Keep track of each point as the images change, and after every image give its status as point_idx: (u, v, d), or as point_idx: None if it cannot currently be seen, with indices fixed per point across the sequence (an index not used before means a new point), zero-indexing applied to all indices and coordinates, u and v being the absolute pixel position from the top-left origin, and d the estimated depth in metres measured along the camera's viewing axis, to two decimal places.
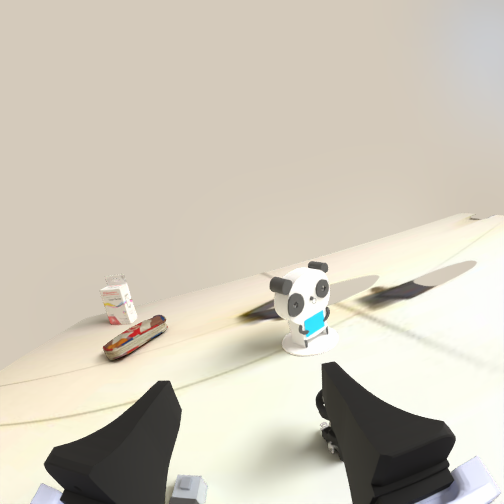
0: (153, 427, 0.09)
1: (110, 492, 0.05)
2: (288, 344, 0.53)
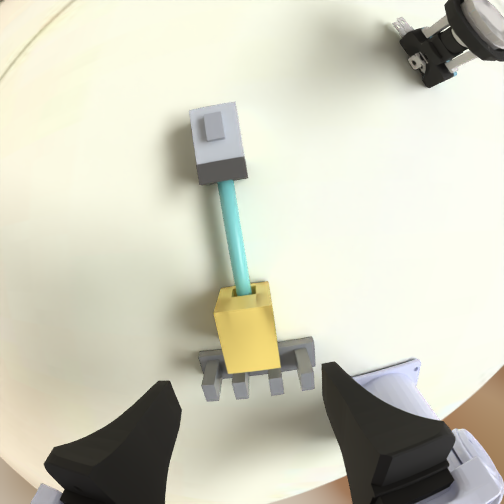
0: (153, 427, 0.09)
1: (110, 492, 0.05)
2: None
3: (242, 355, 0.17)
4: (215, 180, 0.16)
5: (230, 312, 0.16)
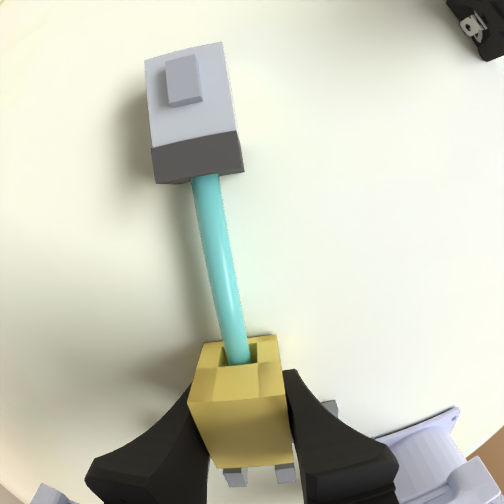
0: (195, 428, 0.09)
1: (164, 502, 0.05)
2: None
3: (236, 451, 0.09)
4: (183, 175, 0.08)
5: (214, 403, 0.09)
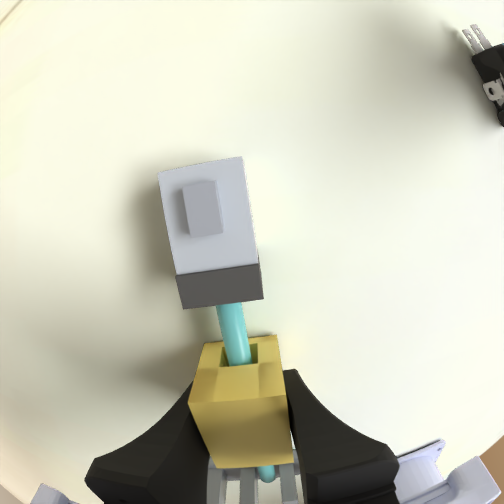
0: (195, 428, 0.09)
1: (164, 502, 0.05)
2: None
3: (237, 452, 0.09)
4: (209, 304, 0.09)
5: (215, 403, 0.09)
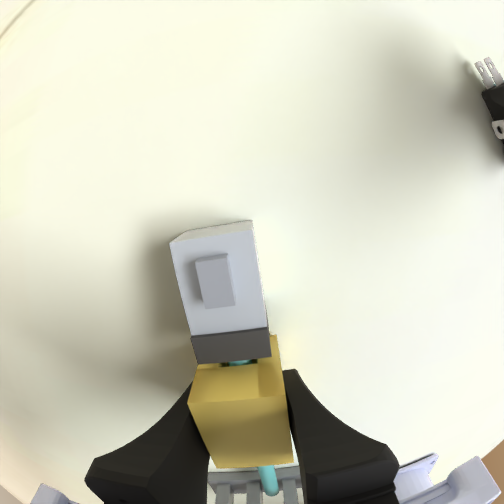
0: (195, 428, 0.09)
1: (164, 502, 0.05)
2: None
3: (236, 452, 0.09)
4: (222, 360, 0.10)
5: (215, 404, 0.09)
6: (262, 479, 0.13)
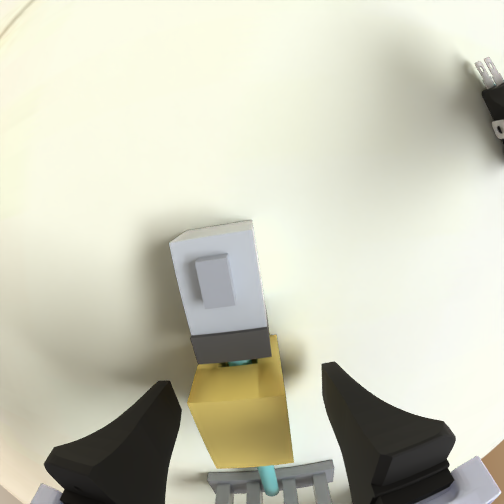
0: (153, 427, 0.09)
1: (110, 492, 0.05)
2: None
3: (236, 452, 0.09)
4: (222, 360, 0.10)
5: (215, 404, 0.09)
6: (262, 479, 0.13)
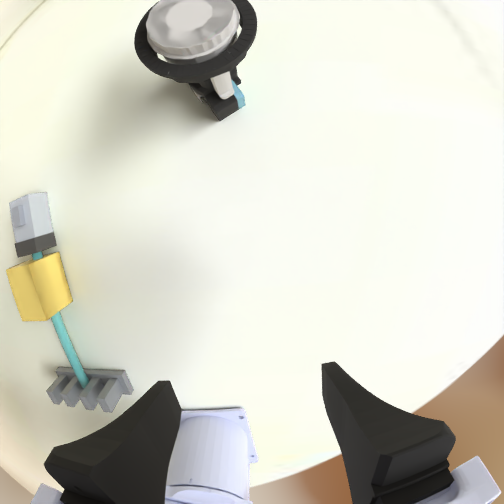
0: (153, 427, 0.09)
1: (110, 492, 0.05)
2: None
3: (24, 305, 0.17)
4: (23, 255, 0.17)
5: (12, 269, 0.16)
6: (71, 364, 0.21)
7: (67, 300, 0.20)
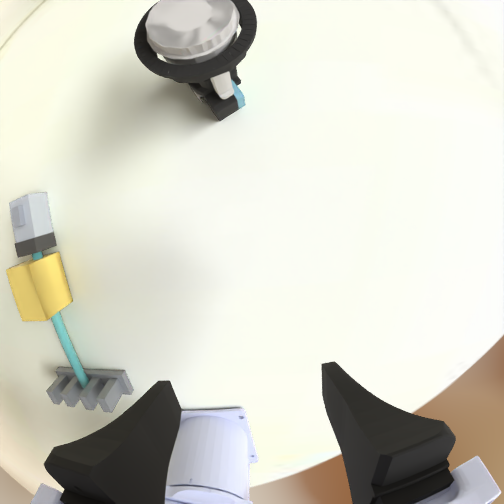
0: (153, 427, 0.09)
1: (110, 492, 0.05)
2: None
3: (24, 305, 0.17)
4: (23, 255, 0.17)
5: (12, 269, 0.16)
6: (71, 364, 0.21)
7: (67, 300, 0.20)
